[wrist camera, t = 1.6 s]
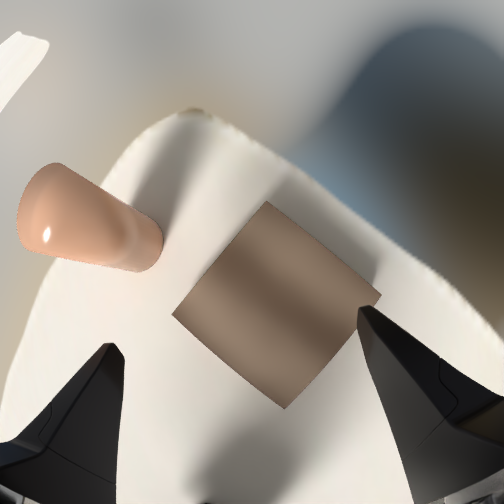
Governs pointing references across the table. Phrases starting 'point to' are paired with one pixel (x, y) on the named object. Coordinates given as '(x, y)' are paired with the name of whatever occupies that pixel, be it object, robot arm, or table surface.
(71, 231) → the peach dome-topped cylinder
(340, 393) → the table surface
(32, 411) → the table surface
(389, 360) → the robot arm
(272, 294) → the walnut plinth
